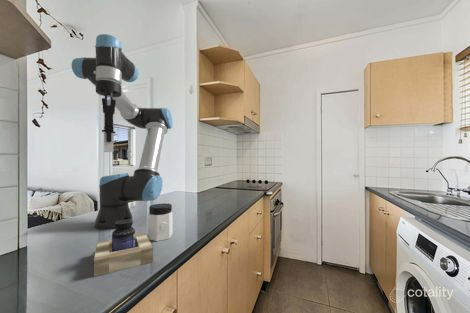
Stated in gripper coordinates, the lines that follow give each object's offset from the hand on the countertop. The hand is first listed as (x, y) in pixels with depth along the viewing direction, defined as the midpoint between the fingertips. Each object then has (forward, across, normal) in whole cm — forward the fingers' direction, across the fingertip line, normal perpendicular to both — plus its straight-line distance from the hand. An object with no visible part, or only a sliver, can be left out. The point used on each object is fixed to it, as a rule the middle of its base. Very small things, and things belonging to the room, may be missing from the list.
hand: (108, 151), depth 69 cm
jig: (+32, +10, +4) cm, 34 cm away
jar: (+33, -1, +17) cm, 37 cm away
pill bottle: (+33, +11, +4) cm, 35 cm away
